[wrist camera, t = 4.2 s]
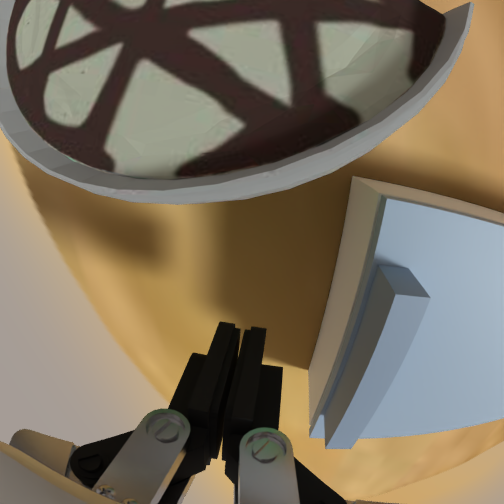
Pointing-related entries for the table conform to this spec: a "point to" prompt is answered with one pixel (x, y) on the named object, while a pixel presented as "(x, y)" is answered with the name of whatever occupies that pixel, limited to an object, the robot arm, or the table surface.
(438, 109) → the table surface
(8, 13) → the food container
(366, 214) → the white rectangular tray
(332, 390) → the lid
